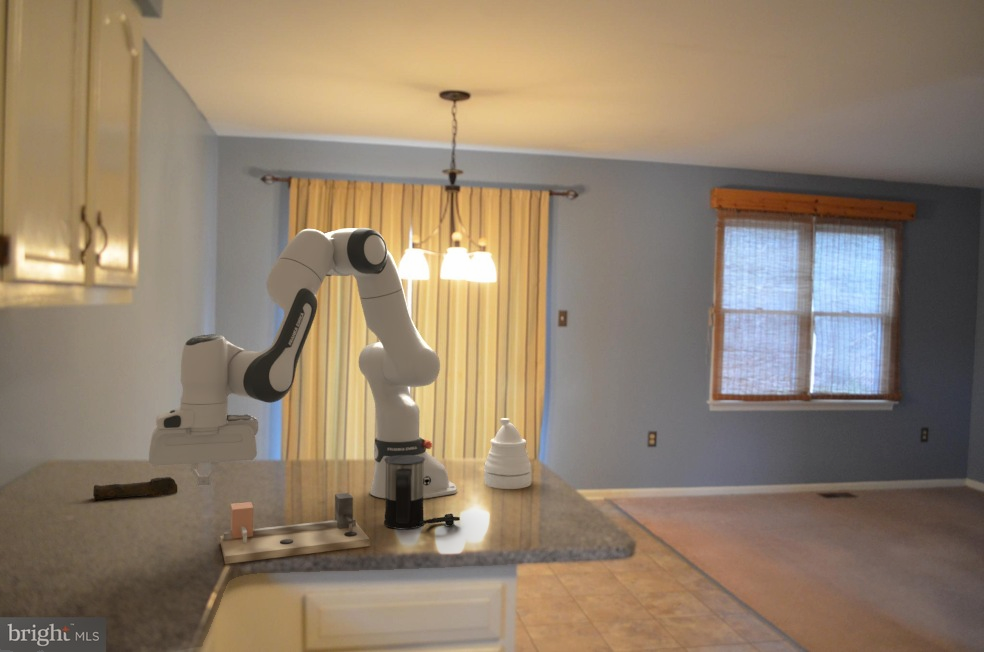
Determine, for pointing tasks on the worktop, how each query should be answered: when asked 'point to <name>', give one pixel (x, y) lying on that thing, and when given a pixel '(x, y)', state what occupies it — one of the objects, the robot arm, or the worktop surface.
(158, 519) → the worktop surface
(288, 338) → the robot arm
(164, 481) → the hand tool
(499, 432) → the honey pot
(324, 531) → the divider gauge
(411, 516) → the milk frother
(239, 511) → the block
